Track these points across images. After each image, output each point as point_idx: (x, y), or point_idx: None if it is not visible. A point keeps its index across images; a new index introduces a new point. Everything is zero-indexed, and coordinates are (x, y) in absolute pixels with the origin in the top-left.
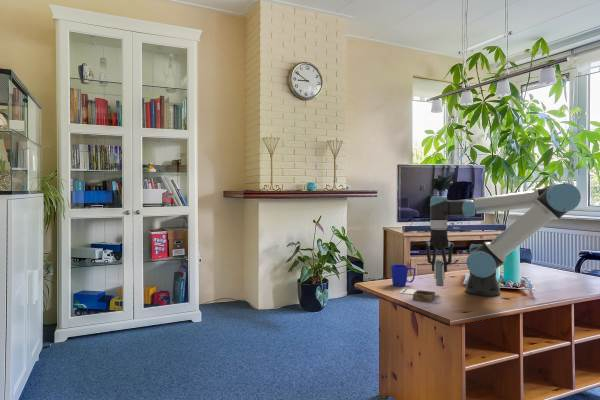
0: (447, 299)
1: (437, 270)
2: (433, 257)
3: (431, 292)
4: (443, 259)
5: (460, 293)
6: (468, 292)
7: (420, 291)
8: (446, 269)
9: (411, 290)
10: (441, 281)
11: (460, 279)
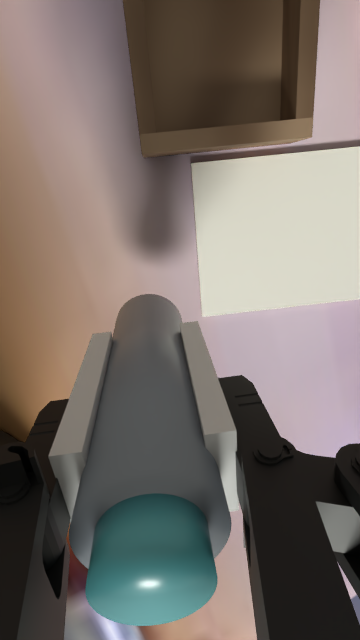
0: (45, 173)
1: (165, 375)
2: (320, 616)
3: (170, 133)
4: (3, 610)
5: (43, 396)
6: (7, 434)
7: (274, 123)
8: (33, 429)
9: (355, 265)
10: (121, 321)
11: (156, 632)
